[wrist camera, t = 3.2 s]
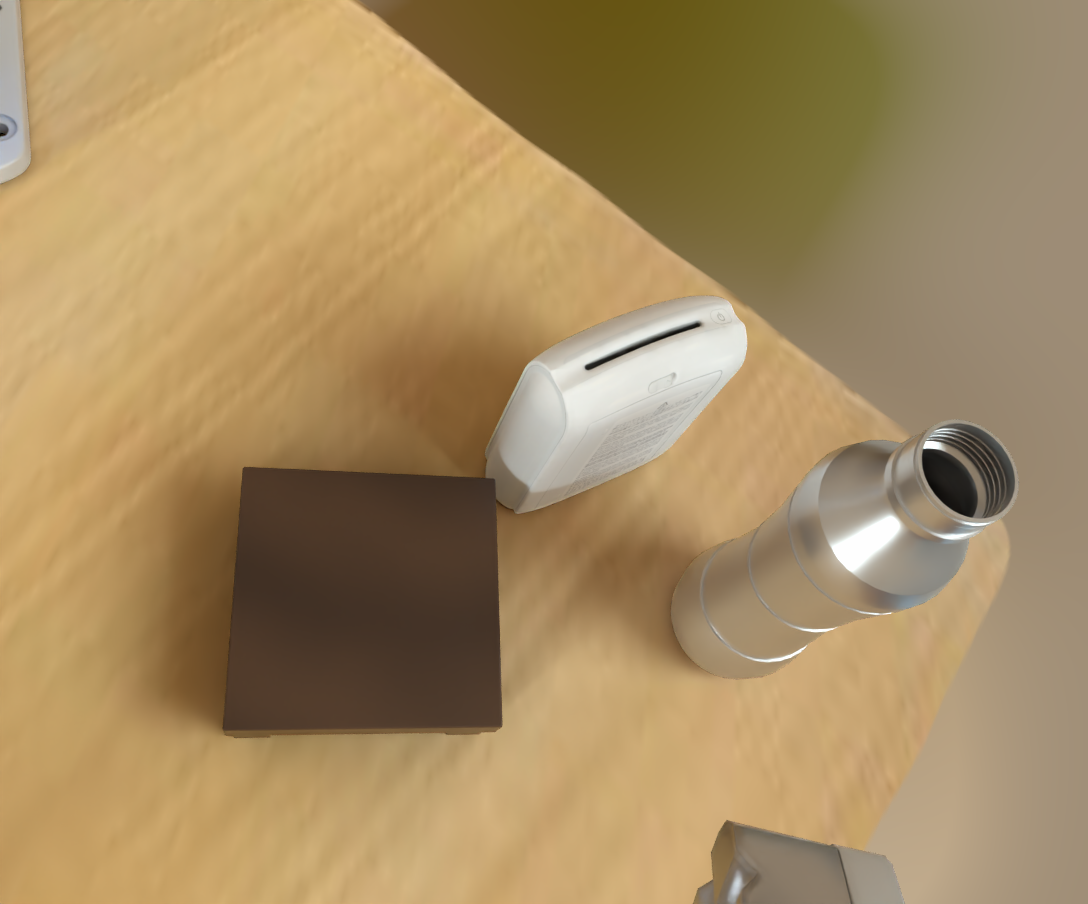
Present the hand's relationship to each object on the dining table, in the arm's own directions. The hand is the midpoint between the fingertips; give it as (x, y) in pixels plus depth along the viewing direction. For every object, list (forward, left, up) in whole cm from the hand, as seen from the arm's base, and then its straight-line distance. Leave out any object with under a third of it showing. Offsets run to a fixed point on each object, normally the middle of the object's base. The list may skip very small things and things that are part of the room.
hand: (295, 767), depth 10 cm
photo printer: (-19, +14, -35) cm, 42 cm away
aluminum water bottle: (-10, +21, -35) cm, 42 cm away
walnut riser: (-10, +3, -35) cm, 37 cm away
